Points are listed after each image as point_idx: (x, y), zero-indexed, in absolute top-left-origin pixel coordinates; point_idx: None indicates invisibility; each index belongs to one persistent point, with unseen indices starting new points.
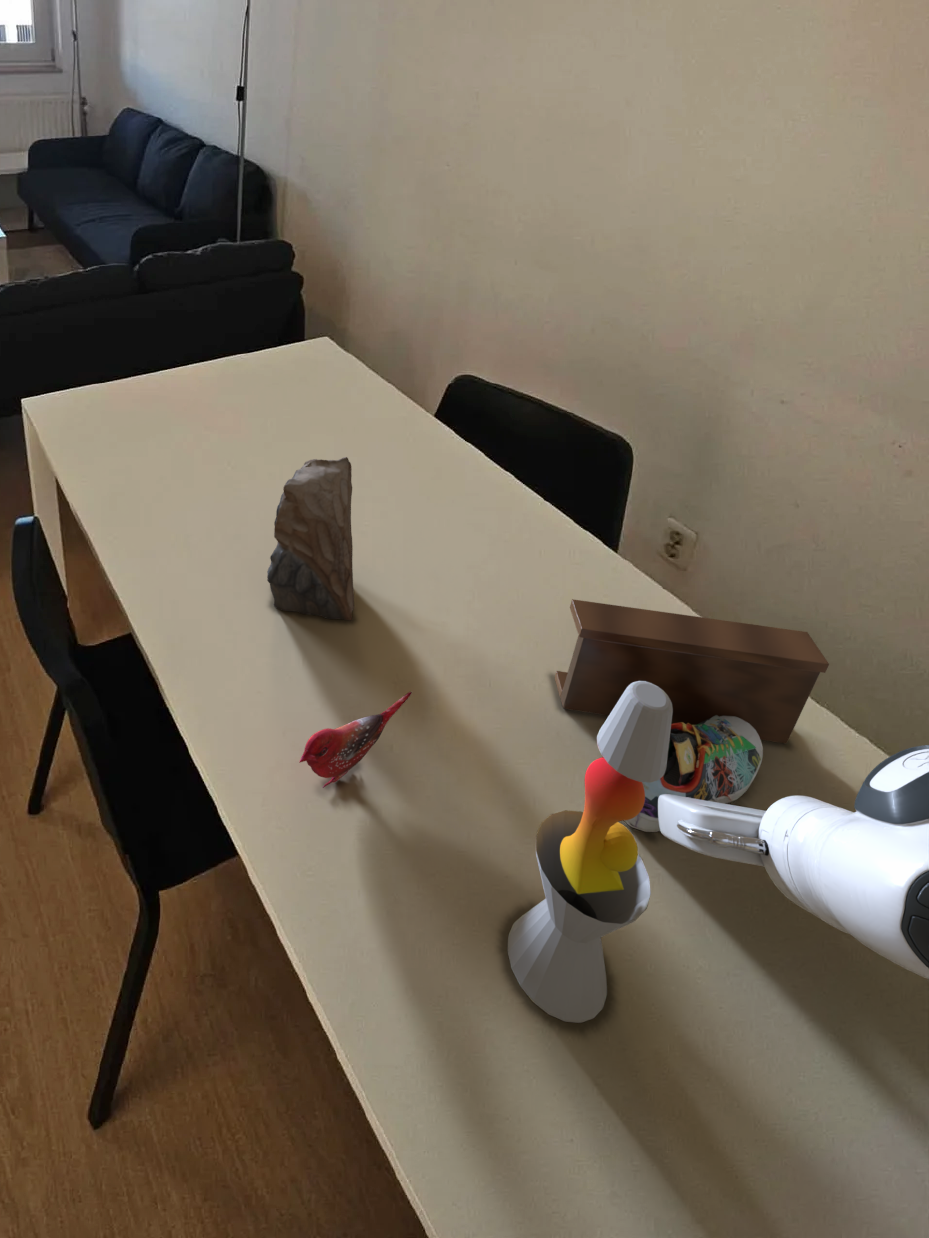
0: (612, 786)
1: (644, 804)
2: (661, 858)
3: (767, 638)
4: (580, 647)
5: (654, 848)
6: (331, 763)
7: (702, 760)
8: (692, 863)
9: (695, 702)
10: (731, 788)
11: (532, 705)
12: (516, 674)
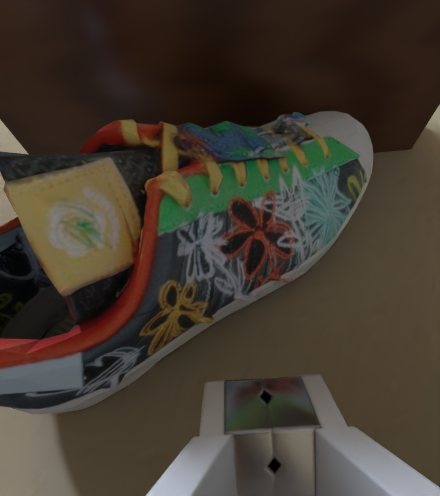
0: None
1: None
2: (89, 474)
3: None
4: None
5: (85, 446)
6: None
7: (149, 226)
8: (165, 467)
9: (250, 105)
10: (288, 262)
11: (3, 191)
12: (9, 152)
